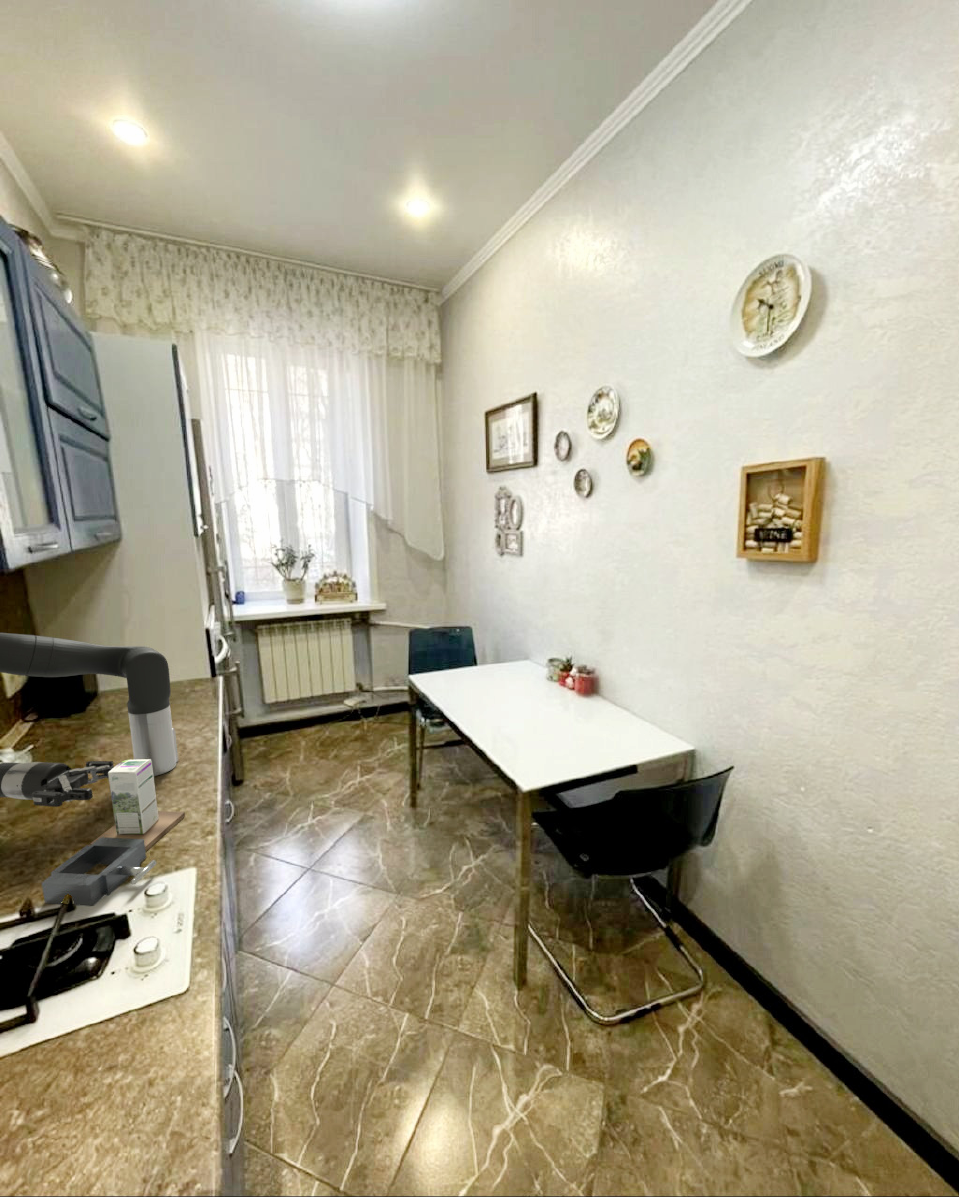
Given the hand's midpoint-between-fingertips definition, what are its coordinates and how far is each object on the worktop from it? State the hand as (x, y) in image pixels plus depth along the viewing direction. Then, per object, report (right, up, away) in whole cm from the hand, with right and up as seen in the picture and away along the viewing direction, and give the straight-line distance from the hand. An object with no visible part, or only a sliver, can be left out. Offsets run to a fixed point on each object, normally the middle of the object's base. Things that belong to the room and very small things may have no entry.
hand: (108, 783), depth 105 cm
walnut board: (+6, -11, +1) cm, 12 cm away
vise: (+10, -13, -13) cm, 21 cm away
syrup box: (+6, -10, +1) cm, 12 cm away
